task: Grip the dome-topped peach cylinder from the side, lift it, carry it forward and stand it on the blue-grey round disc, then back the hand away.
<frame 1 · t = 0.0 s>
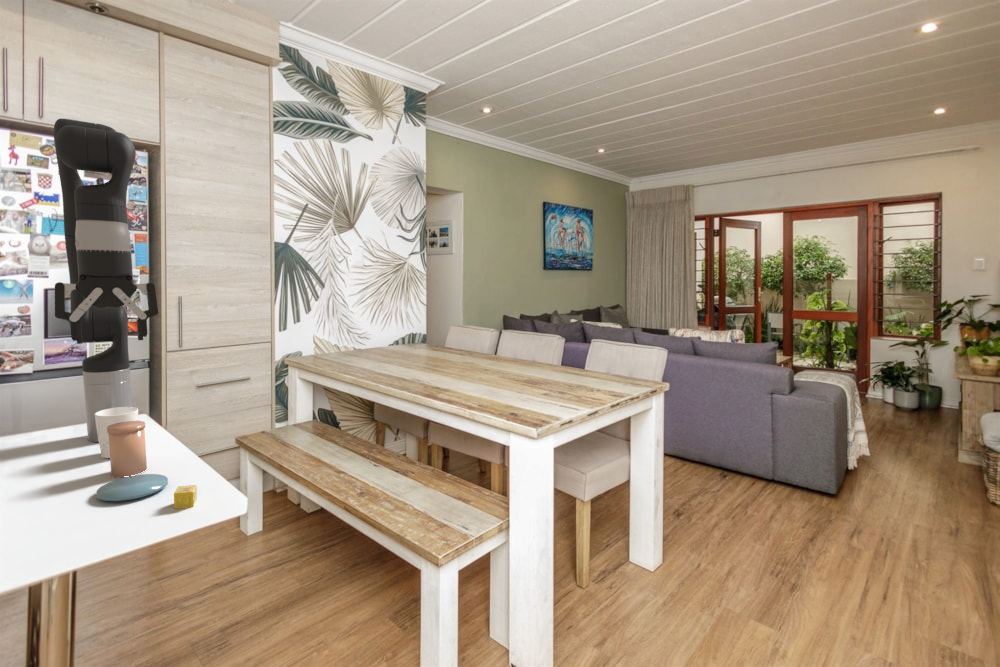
hand: (110, 341, 90), 29 cm above the table, tool pointing down, fingers open, 8 cm apart
white cup: (119, 454, 116), on the table
alphabet block: (186, 505, 92), on the table
dome-topped peach cylinder: (129, 471, 106), on the table
blue-grey round disc: (133, 491, 96), on the table
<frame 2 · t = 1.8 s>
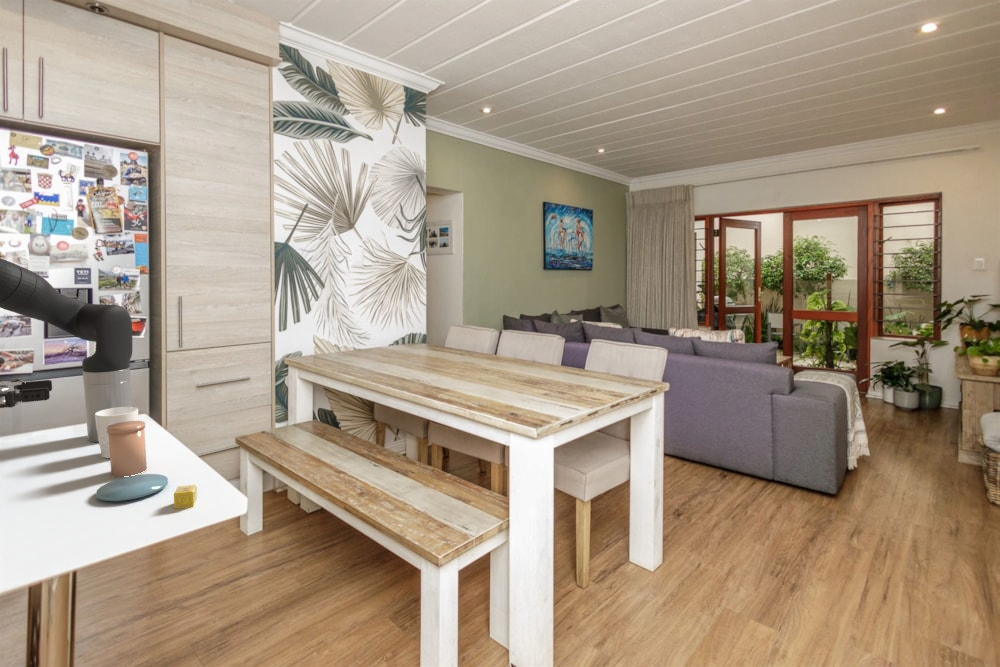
hand: (50, 389, 96), 19 cm above the table, tool horizontal, fingers open, 8 cm apart
nothing on the table moved.
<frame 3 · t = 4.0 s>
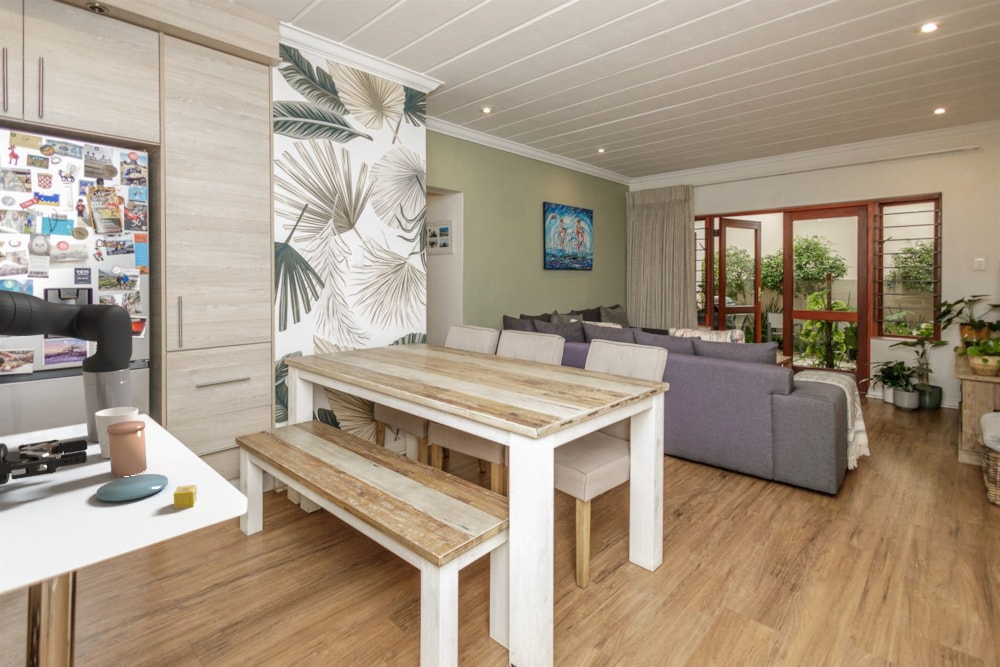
hand: (86, 450, 101), 6 cm above the table, tool horizontal, fingers open, 8 cm apart
nothing on the table moved.
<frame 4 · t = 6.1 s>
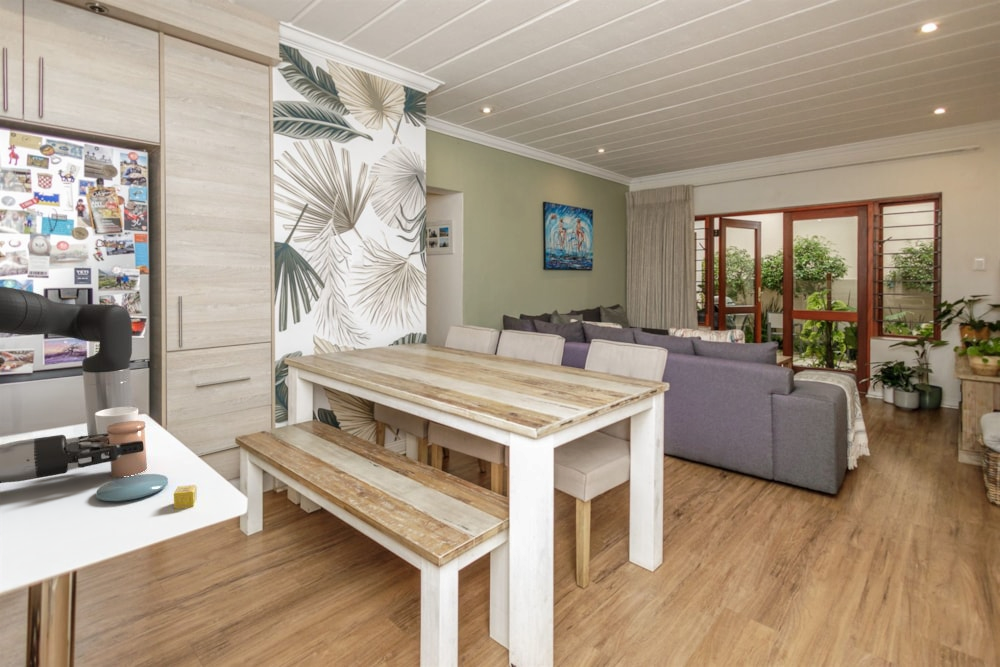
hand: (141, 441, 107), 6 cm above the table, tool horizontal, fingers closed on dome-topped peach cylinder, 6 cm apart
dome-topped peach cylinder: (129, 471, 106), on the table, touching gripper
everything else where it was.
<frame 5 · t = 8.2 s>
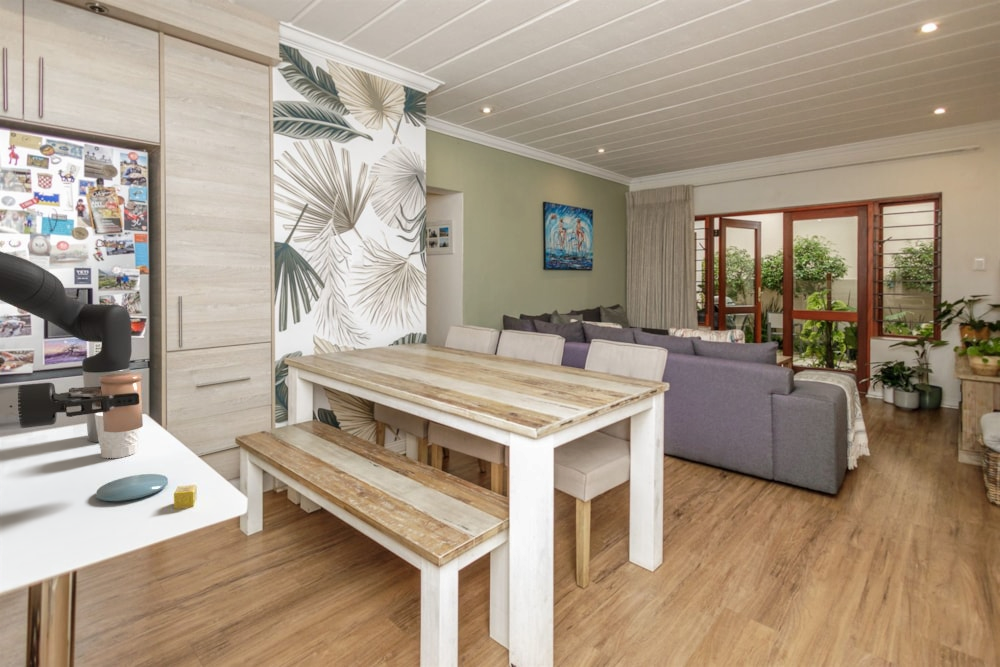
hand: (137, 395, 98), 18 cm above the table, tool horizontal, fingers closed on dome-topped peach cylinder, 6 cm apart
dome-topped peach cylinder: (123, 427, 97), point 12 cm above the table, touching gripper
everything else where it was.
when the fingers open (8 cm above the table, at t = 10.7 s): dome-topped peach cylinder drops 1 cm, resting on blue-grey round disc.
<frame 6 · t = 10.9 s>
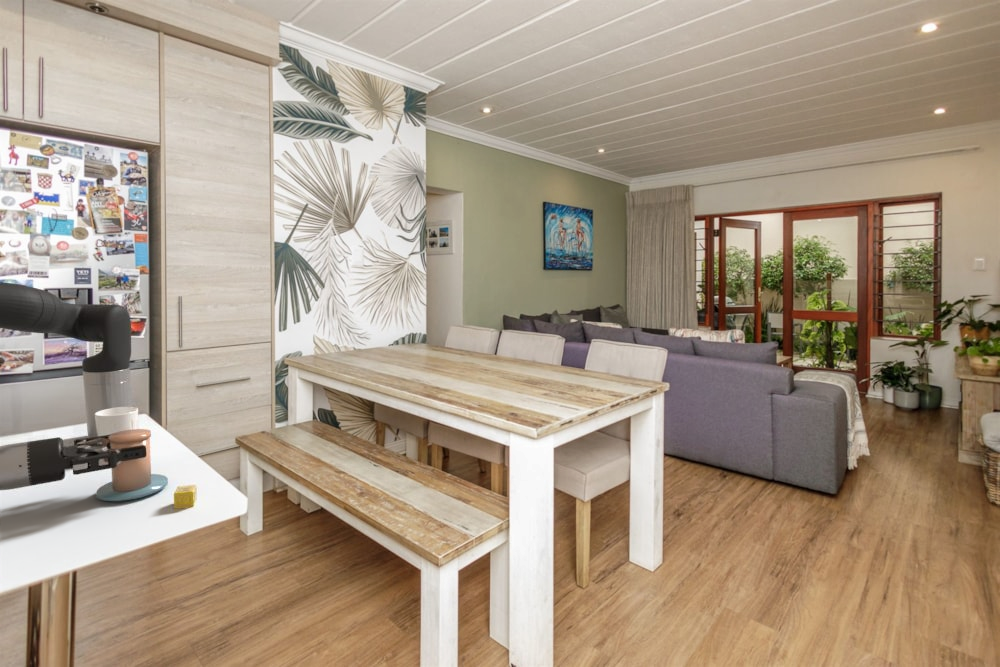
hand: (144, 445, 97), 9 cm above the table, tool horizontal, fingers open, 7 cm apart
dome-topped peach cylinder: (132, 485, 96), point 1 cm above the table, touching blue-grey round disc
everything else where it was.
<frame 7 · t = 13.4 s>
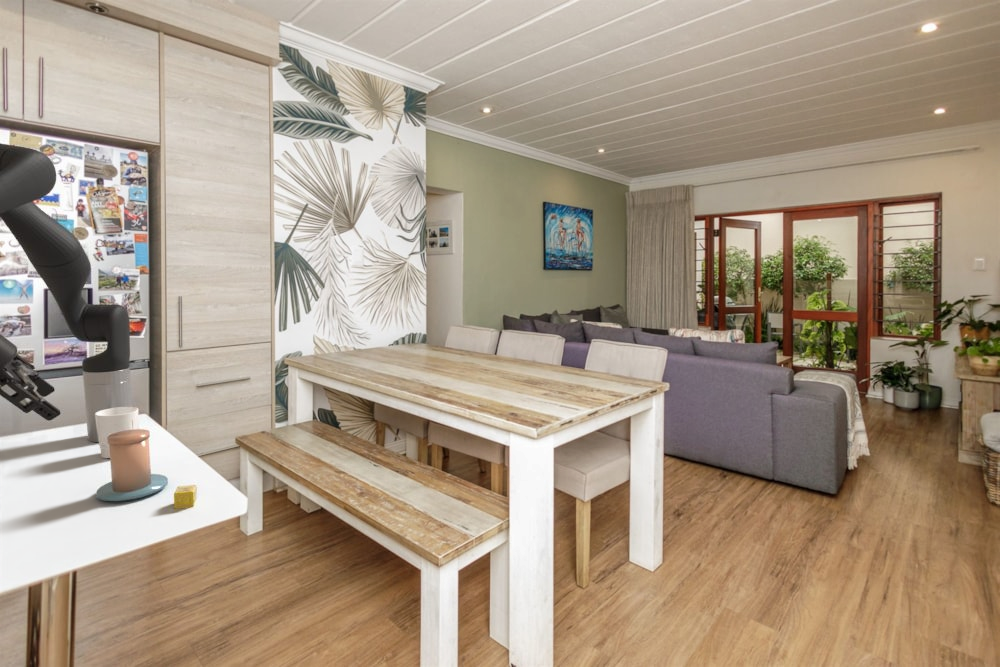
hand: (52, 404, 92), 17 cm above the table, tool tilted 40°, fingers open, 8 cm apart
nothing on the table moved.
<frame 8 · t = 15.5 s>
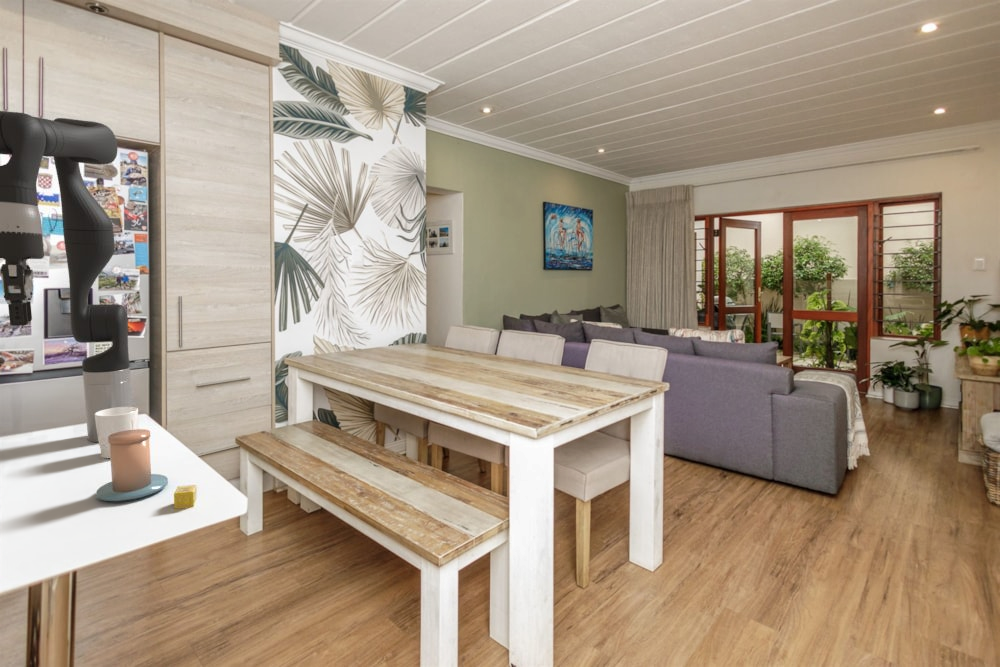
hand: (21, 323, 90), 32 cm above the table, tool pointing down, fingers open, 8 cm apart
nothing on the table moved.
at the end: dome-topped peach cylinder inside the target area on the blue-grey round disc (0.1 cm from its centre), point 1.2 cm above the blue-grey round disc's base; dome-topped peach cylinder tilted 0°; the gripper is holding nothing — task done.
